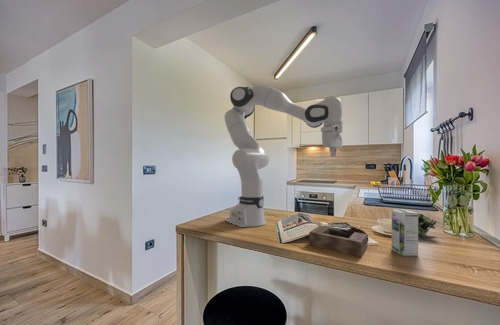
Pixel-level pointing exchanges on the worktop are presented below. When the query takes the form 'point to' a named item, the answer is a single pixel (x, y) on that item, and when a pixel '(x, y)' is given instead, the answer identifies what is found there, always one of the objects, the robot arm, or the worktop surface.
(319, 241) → the socket block
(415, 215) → the syrup box
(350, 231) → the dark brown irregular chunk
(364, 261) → the worktop surface
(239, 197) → the robot arm
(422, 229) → the green leafy plant
